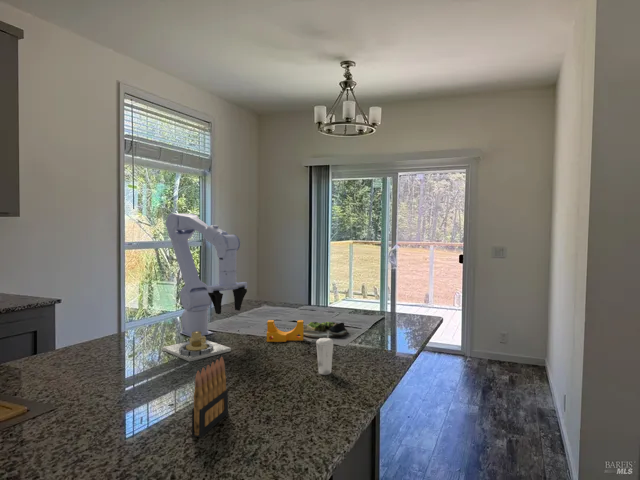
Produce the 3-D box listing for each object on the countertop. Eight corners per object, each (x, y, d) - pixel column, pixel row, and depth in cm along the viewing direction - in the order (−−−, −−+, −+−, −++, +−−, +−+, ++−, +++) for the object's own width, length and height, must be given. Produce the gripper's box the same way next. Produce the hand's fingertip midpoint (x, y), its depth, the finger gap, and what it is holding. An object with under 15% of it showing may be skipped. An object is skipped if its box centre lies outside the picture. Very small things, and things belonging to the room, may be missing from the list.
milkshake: (336, 370, 115) (336, 332, 115) (330, 376, 110) (330, 337, 110) (320, 368, 117) (320, 331, 117) (313, 374, 112) (313, 336, 111)
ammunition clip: (220, 412, 89) (219, 354, 89) (228, 413, 89) (228, 355, 89) (191, 436, 79) (190, 371, 79) (200, 438, 79) (199, 372, 78)
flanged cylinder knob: (183, 349, 131) (183, 331, 131) (203, 346, 134) (203, 328, 134) (189, 354, 126) (188, 335, 126) (209, 351, 129) (209, 333, 129)
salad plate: (295, 341, 145) (295, 327, 145) (290, 329, 163) (290, 316, 163) (351, 339, 148) (351, 325, 148) (340, 327, 166) (340, 315, 166)
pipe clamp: (266, 342, 144) (266, 322, 143) (268, 338, 148) (268, 320, 148) (302, 342, 143) (302, 323, 143) (303, 338, 148) (303, 320, 148)
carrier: (162, 350, 134) (162, 337, 133) (202, 341, 144) (202, 329, 144) (189, 361, 123) (189, 347, 122) (230, 351, 133) (230, 338, 133)
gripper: (215, 273, 135) (216, 316, 136) (252, 270, 146) (253, 310, 146) (203, 272, 140) (203, 313, 140) (240, 268, 150) (240, 307, 151)
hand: (228, 311), depth 144 cm, fingers open, 7 cm apart
